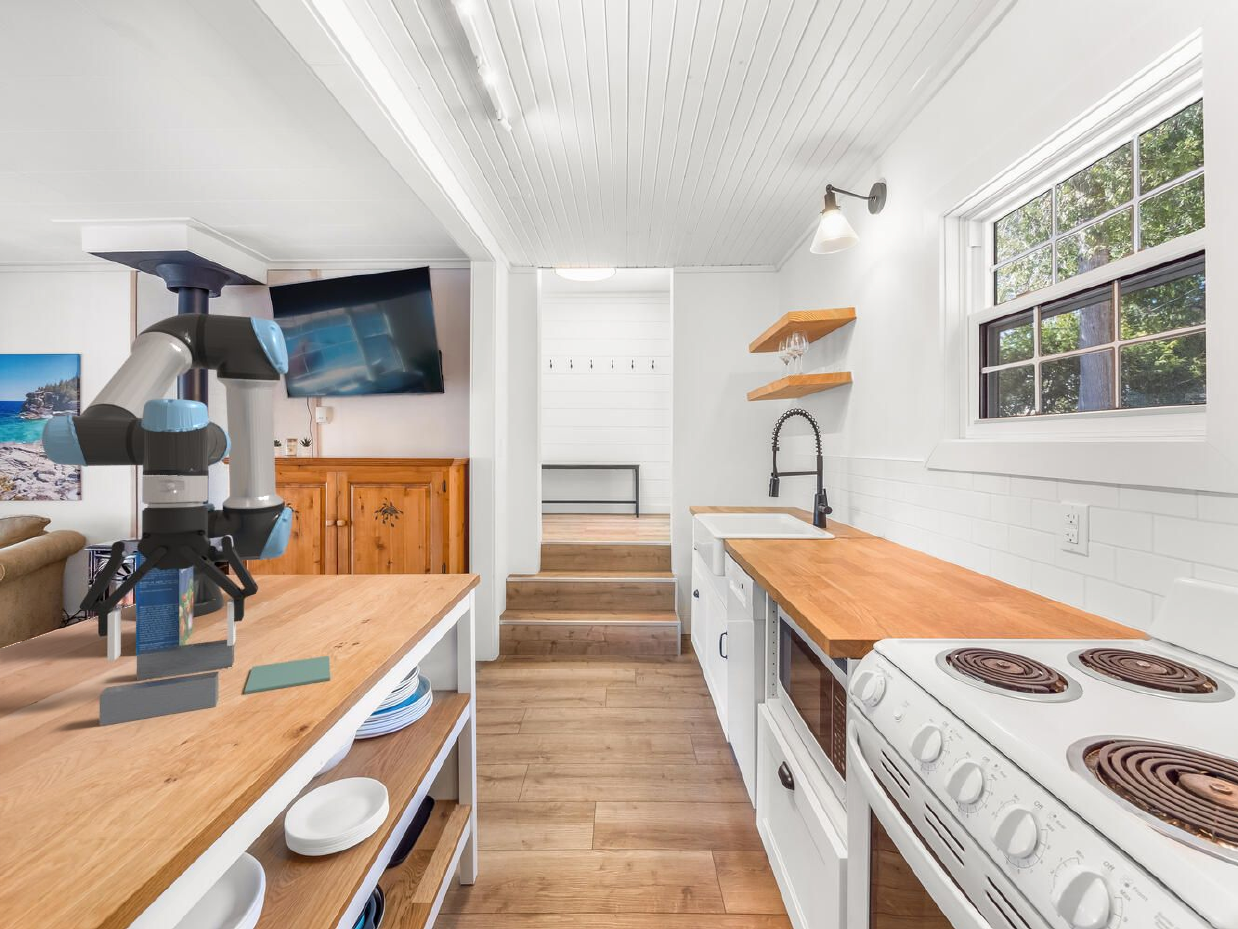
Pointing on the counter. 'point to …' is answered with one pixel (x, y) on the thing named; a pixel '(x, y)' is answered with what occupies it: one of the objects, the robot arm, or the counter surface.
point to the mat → (288, 674)
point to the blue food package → (163, 607)
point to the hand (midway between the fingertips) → (175, 650)
